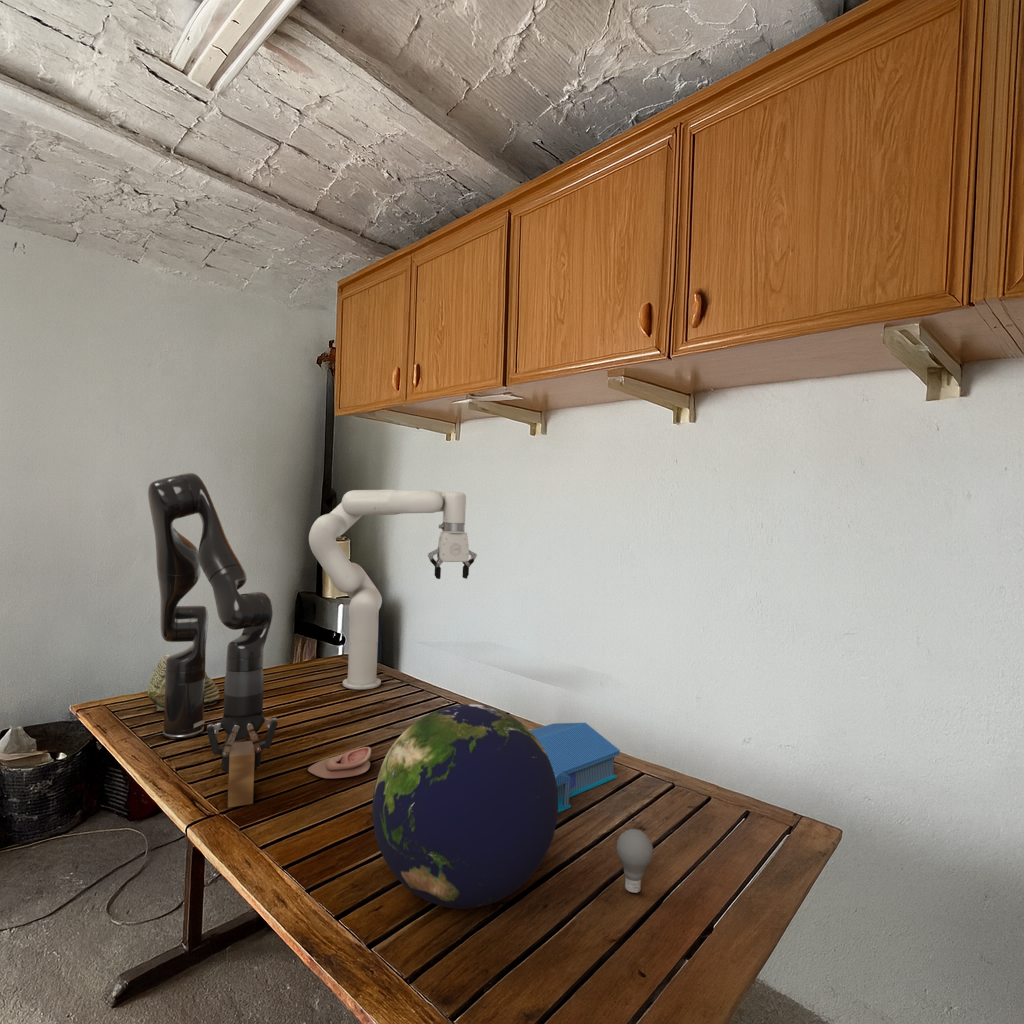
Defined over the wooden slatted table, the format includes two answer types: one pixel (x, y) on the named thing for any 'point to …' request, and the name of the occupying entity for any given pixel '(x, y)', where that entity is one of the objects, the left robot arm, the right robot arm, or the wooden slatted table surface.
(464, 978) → the wooden slatted table surface
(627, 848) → the light bulb
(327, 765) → the anatomical model
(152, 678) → the fossil
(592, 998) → the wooden slatted table surface
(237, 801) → the brick
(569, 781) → the model building
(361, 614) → the right robot arm
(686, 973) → the wooden slatted table surface
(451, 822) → the globe
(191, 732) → the left robot arm
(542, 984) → the wooden slatted table surface
